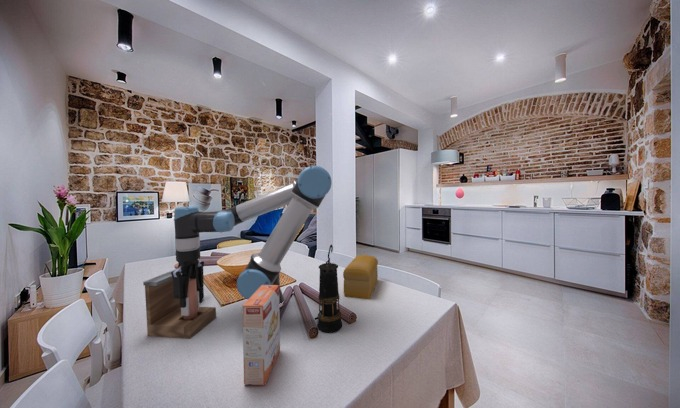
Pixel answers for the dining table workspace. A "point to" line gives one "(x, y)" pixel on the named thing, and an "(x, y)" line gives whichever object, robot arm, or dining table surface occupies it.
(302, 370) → the dining table surface
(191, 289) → the peg
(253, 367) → the cracker box
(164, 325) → the station
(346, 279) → the bread
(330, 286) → the lantern
